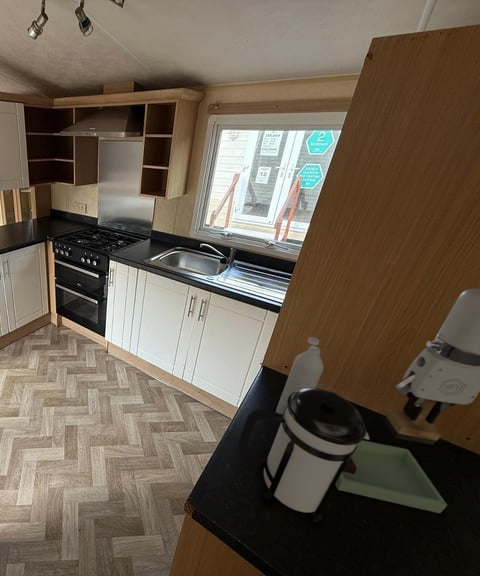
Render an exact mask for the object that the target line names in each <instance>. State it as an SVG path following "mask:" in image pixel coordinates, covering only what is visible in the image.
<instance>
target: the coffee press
mask: <svg viewBox="0 0 480 576" xmlns="http://www.w3.org/2000/svg"><path fill="white" fill-rule="evenodd" d="M283 416H284V417H283ZM260 420H270V421H276V422H279V423H280V424H279V427H278V430H277V433H276V436H275V438H274V440H273V443H272V446H271V449H270V451H269V452H268V454H267V456H266V457H262V456H260V455H257V454H255V453H253V452H251V450H250V449H249V447H248V444H249V442H250V438H251V436H252V432H253V430H254V427H255V424H256V423H257V422H258V421H260ZM362 440H363V441H364V440H366V441H368V440H370V436H369V433H368V432H367V428H366V424H365V422H364V419H363V417H362V415H361V413H360V411H359V410H358V409H357V408H356V407H355V406H354V405H353V404H352V403H351V402H350V401H348V400H347V399H346V398H344V397H343V396H342V395H341V396H340V395H339V394H337V393H335V392H333V391H330V390H327V389H325V388H318V387H316V388H303V389H300V390H298V391H295V392H293V393H291V394H290V396H289V397H288V400H287V408H286V409H285V410H284V413H283V414H279V413H276V411H274V410H271V409H265V408H260V409H256V410H253V411H251V412H250V413H249V414H248V415H247V417H246V419H245V421H244V424H243V427H242V430H241V433H240V437H239V443H238V449H239V452H240V454H241V455H242V456H243V457H244V459H246V460H247V461H250V462H252V463H254V464H256V465H258V466H261V468H263V479H264V482H265V484H266V486H267V488H268V490H267V491H265V492H264V493H263V495H262V499H263V500H264V501H265V502H266V504H270V503H271V502H273V501H274V500H275V499H277V500H278V501H279V502H280V503H282V504H283V505H284V506H287V507H288V508H290V509H292V510H294V511H297V512H301V513H309V516H310V517H311V518H310V519H311V520H312V522H313V523H314V524H315V525H319V524H322V523H323V522H324V518H323V515H322V509H323V507H324V505H325V503H326V502H327V500H328V498H329V496H330V494H331V492H332V491H333V489H334V487H335V486H336V485H335V483H336V482H337V480H338V478H339V476H340V475H341V473H342V471H343V469H344V467H345V466H346V464H347V461H348V459H350V458H351V457H352V455H353V454H354V452H355V450H356V449H357V444H358V443H360V442H361V441H362Z"/></svg>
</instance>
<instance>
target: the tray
mask: <svg viewBox="0 0 480 576" xmlns="http://www.w3.org/2000/svg"><path fill="white" fill-rule="evenodd" d="M351 458H352V460H353V462H354V464H355V466H356V468H357V470H356V471H355V473H354V474H352V473H347V472H343V471H342V473H341V475H340V476H339V478H338V480H337V482H336V483H335V485H334V486H335V487H336V489H337V490H338V491H342V492H345V493H351V494H354V495H359V496H363V497H366V498H367V497H368V498H371V499H376V500H380V501H384V502H389V503H393V504H398V505H402V506H406V507H409V508H414V509H419V510H424V511H427V512H432V513H437V514H442V512H443V511H444V510H445V509H446V507H448V504H447V503H446V501H445V500H444V498H443V497H442V495H441V494H440V492H439V491H438V490H437V488H436V487H435V485H434V484H433V482H432V481H431V480H430V478H429V477H428V476H427V474H426V473H425V471H424V470H423V468H422V467H421V465H420V464H419V463H418V461H417V460H416V458H415V457H414V455H413V454H412V453H411V451H410V450H409V449H408V448H403V447H399V446H393V445H387V444H383V443H377V442H372V441H368V440H364V439H363V440H362V441H361V442H360V443H358V444H357V449H356V450H355V452H354V454H353V455H352V457H351Z"/></svg>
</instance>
